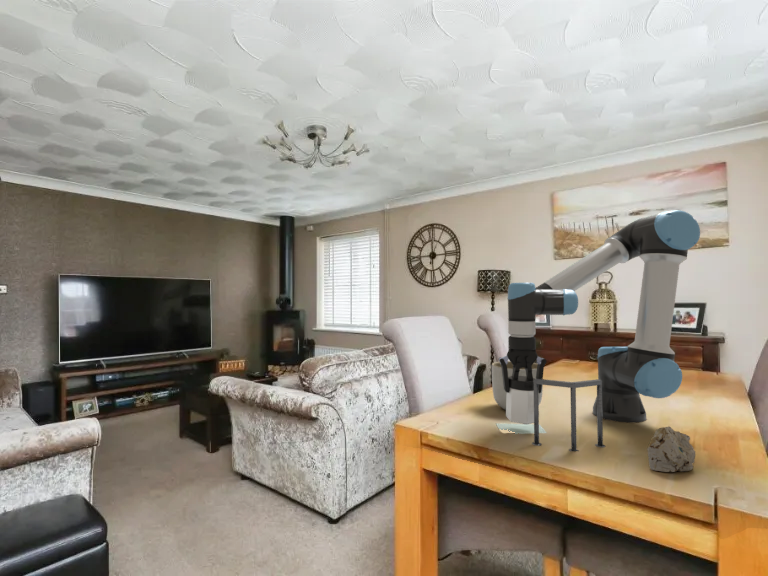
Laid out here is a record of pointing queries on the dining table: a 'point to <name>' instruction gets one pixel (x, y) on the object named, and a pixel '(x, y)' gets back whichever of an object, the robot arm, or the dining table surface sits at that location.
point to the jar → (520, 400)
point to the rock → (670, 451)
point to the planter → (498, 381)
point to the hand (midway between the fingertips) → (522, 416)
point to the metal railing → (573, 408)
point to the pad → (520, 428)
